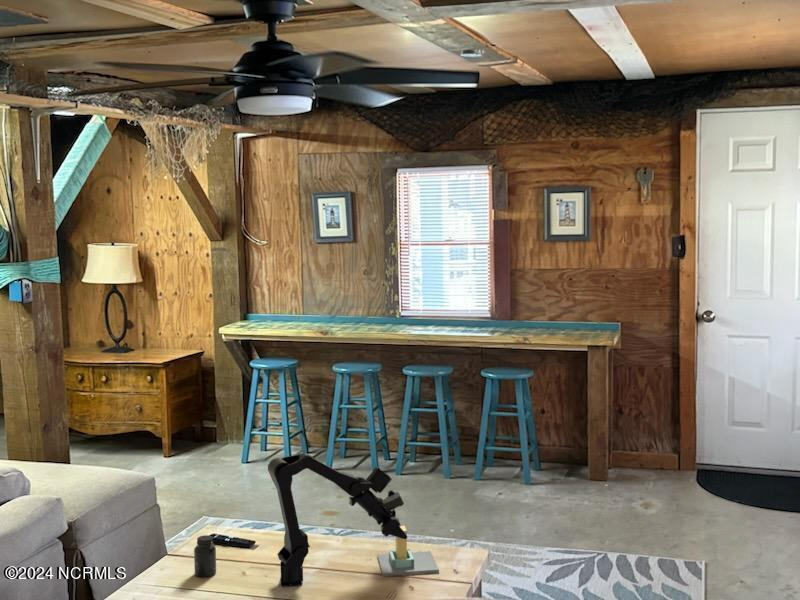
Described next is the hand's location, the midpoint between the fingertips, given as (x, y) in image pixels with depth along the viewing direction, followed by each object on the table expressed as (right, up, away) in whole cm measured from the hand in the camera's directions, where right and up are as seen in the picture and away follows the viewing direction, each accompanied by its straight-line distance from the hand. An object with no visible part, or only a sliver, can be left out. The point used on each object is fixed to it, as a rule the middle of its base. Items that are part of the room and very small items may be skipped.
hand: (405, 535), depth 292 cm
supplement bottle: (-64, -11, -5) cm, 65 cm away
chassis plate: (+1, -10, +1) cm, 10 cm away
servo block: (-1, -8, 0) cm, 8 cm away
